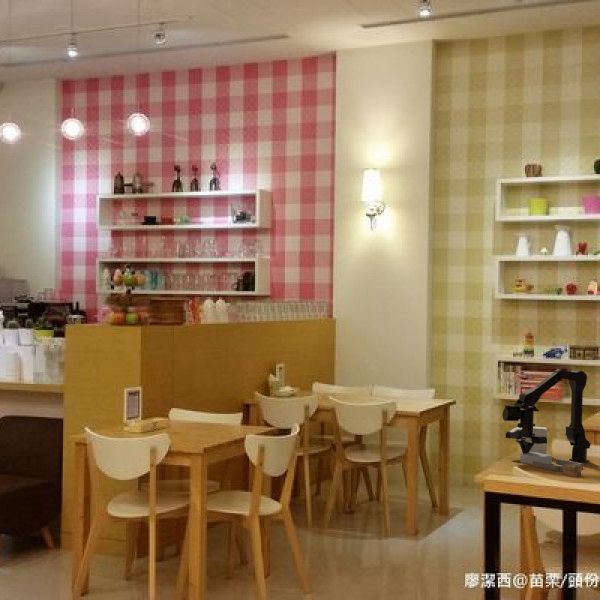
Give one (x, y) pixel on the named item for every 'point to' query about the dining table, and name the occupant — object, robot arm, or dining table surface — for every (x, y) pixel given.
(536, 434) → the supplement box
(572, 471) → the walnut block
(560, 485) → the dining table surface
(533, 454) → the carton
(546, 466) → the display bay
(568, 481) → the dining table surface
